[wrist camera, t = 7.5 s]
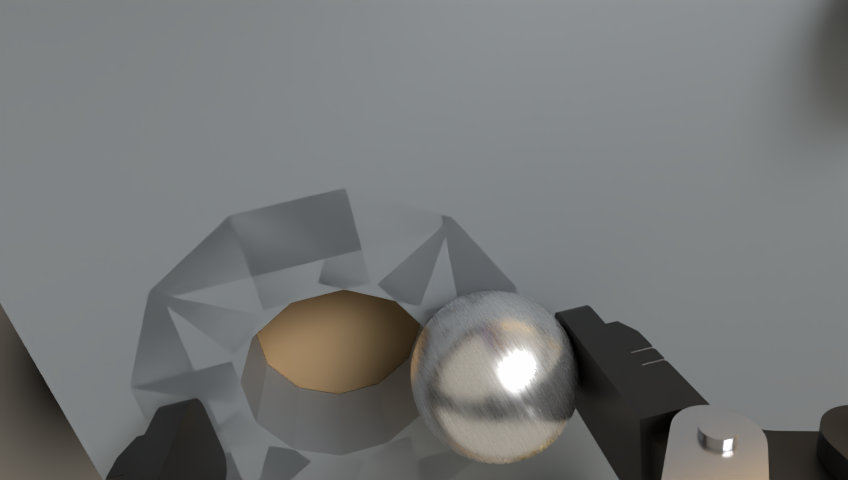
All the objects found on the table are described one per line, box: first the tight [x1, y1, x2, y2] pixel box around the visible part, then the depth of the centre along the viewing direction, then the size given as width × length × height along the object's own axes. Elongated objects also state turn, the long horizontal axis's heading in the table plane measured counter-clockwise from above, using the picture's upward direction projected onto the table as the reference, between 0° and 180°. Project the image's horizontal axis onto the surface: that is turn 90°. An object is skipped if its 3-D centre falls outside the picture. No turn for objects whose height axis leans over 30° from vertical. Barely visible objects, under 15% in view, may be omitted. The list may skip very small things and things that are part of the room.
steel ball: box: [411, 291, 580, 464], centre depth 11 cm, size 4×4×4 cm
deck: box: [0, 0, 848, 480], centre depth 14 cm, size 24×20×2 cm
